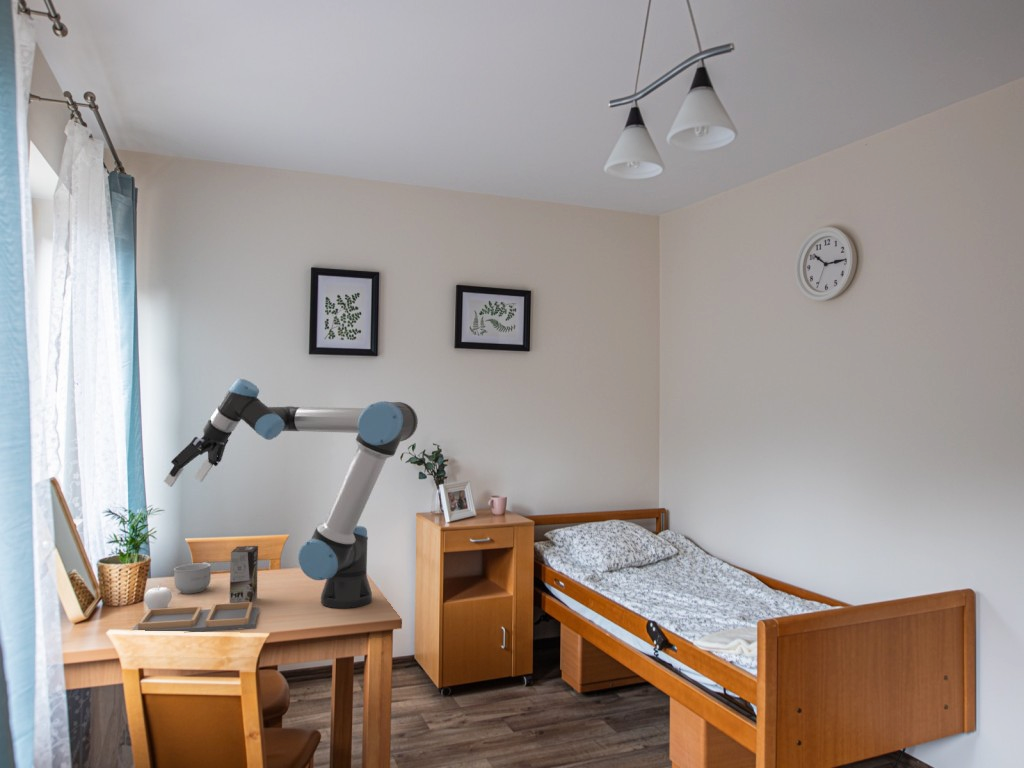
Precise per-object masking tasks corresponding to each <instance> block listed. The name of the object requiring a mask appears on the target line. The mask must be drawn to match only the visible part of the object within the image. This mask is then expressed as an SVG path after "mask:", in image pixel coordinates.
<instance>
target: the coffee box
mask: <svg viewBox="0 0 1024 768" xmlns="http://www.w3.org/2000/svg"><path fill="white" fill-rule="evenodd" d="M258 556H259V546H258V545H245V546H236V547H235V548H234V549H233V550H231V552H230V568H229V569H230V576H229V602H228V603H242V602H253V603H254V602H255V601H256V600H257V598H258V565H259V564H258V559H259V558H258Z"/></svg>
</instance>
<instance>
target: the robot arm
mask: <svg viewBox="0 0 1024 768" xmlns="http://www.w3.org/2000/svg"><path fill="white" fill-rule="evenodd" d="M259 394H260V389H259V388H258V386H257V385H256V384H254V383H253V382H251V381H249V380H247V379H246V378H245V379H244V378H238V379H236V380H235V381H234V383H233V384H232V385H231V386H230V388H229V389H228V391H227V392H226V394H225V395H224V398H222V400H221V402H220V403H219V404H218V406H217V408H215V411H214V412H213V413H212V414H211V415H212V416H210V419H208V421H207V422H206V424H205V425H204V426H203V428H202V430H203V431H202V432H203V435H202V437H200V438H199V437H197V436H195V437H194V438H193V439H192V440H191V442H190V443H189V444H188V445H187V446H185V448H184V449H182V451H180V452H179V453H178V454H177V455H176V456H175V457H174V458H173V459H172V460H171V461H170V463H171V464H172V465H173V467H172V468H171V470H169V473H168V474H167V476H165V478H164V480H163V482H164V483H165V484H167V486H169V487H170V488H171V487H173V486H174V484H175V483H176V482H177V480H178V478H179V477H180V475H181V474H182V472H183V471H184V467H186V465H189V463H190V462H192V461H193V460H194V459H195V458H197V457H198V456H199V455H200V456H202V455H203V454H204V453H207V459H205V460H204V461H203V463H202V464H201V466H200V467H199V469H198V471H197V472H196V473H195V475H193V476H194V478H195V479H196V480H198V481H199V482H200V483H202V482H203V481H204V479H205V478H206V476H207V475H208V473H209V472H210V470H211V469H213V466H214V467H216V466H217V467H218V465H219V463H220V462H222V459H223V455H224V452H225V448H226V445H227V444H228V442H229V438H230V436H231V435H232V434H233V432H234V430H235V429H236V427H237V426H238V424H239V423H240V422H241V420H242V421H243V422H244V423H246V424H247V425H248V426H249V427H250V428H251V429H252V430H254V431H255V433H256V434H258V435H259V436H261V437H262V438H264V440H267V441H269V440H270V441H271V440H273V439H274V438H276V437H278V436H279V435H280V434H281V433H282V432H313V433H315V432H317V433H320V432H321V433H344V434H345V433H348V434H350V433H351V434H352V433H353V434H357V435H356V438H355V441H356V442H355V443H356V444H357V449H356V451H355V454H354V455H353V457H352V460H351V463H350V465H349V466H348V469H347V472H346V473H345V475H344V476H345V477H344V478H343V480H342V483H341V485H340V487H339V489H338V491H337V494H336V496H335V498H334V500H333V503H332V505H331V508H330V509H329V512H328V513H327V516H326V517H325V518H326V519H325V521H323V522H320V523H318V524H317V525H316V528H315V530H314V532H313V534H312V535H311V538H310V539H309V540H307V541H306V542H305V543H304V544H303V545H302V546H301V547H300V549H299V552H298V556H297V557H298V564H299V566H300V569H301V571H302V573H304V575H305V576H306V577H308V578H309V579H312V580H314V581H324V580H325V583H324V586H323V589H322V592H321V596H320V603H321V605H322V606H324V607H329V608H332V609H333V608H334V609H349V608H350V609H351V607H352V609H353V608H359V607H363V606H366V605H368V604H370V603H371V602H372V601H373V592H372V588H371V586H370V581H369V579H368V575H367V570H368V569H367V568H368V567H367V566H368V538H369V537H368V529H367V528H366V527H365V526H362V525H358V523H359V521H360V519H361V516H362V514H363V512H364V510H365V508H366V505H367V503H368V501H369V498H370V496H371V495H372V492H373V489H374V487H375V485H376V483H377V481H378V479H379V476H380V474H381V471H382V470H383V468H384V466H385V464H386V460H387V459H389V458H391V457H394V456H395V454H396V451H397V450H398V447H399V445H400V442H403V441H406V440H408V439H410V438H411V437H412V436H413V435H414V434H415V432H416V430H417V428H418V423H419V422H418V421H419V419H418V415H417V412H416V411H415V410H414V408H413V407H411V405H409V404H407V403H405V402H401V401H393V402H392V401H378V402H374V403H372V404H370V405H368V406H366V407H328V406H327V407H320V406H319V407H318V406H317V407H314V406H308V407H307V406H305V407H304V406H292V405H291V406H268V405H266V404H265V403H264V402H262V401H261V400H260V399H259V398H258V396H259Z"/></svg>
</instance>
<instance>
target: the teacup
mask: <svg viewBox="0 0 1024 768" xmlns="http://www.w3.org/2000/svg"><path fill="white" fill-rule="evenodd" d="M211 565H212V564H211V563H208V562H207V561H204V562H195V563H188V564H181V565H179V566H176V567H174V568H173V575H174V576H173V577H174V585H175V586H174V587H175V588H176V590H178V591H179V592H181V593H182V592H183V593H182V594H195V593H199V592H203V591H204V590H206V588H207V587H209V585H210V583H211V579H212V578H211V574H212V573H211Z"/></svg>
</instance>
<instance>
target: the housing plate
mask: <svg viewBox="0 0 1024 768" xmlns="http://www.w3.org/2000/svg"><path fill="white" fill-rule="evenodd" d="M253 604H254V602H242V603H229V602H228V603H227V602H226V603H216V604H213V605H212V606H211V609H202V608H203V607H202V606H198V605H197V606H180V607H178V606H177V607H167V608H160V609H150V610H149V609H148V610H147V611H146V612H145V614H144V615H142V617H141V618H140V620H139V621H138V622H137V624H136V625H134V627H133V628H132V630H145V631H199V632H211V631H212V632H213V631H226V630H227V631H228V630H239V629H238V628H245V629H254V628H255V627H256V623H257V619H258V615H259V610H260V607H259V606H254V605H253Z"/></svg>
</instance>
